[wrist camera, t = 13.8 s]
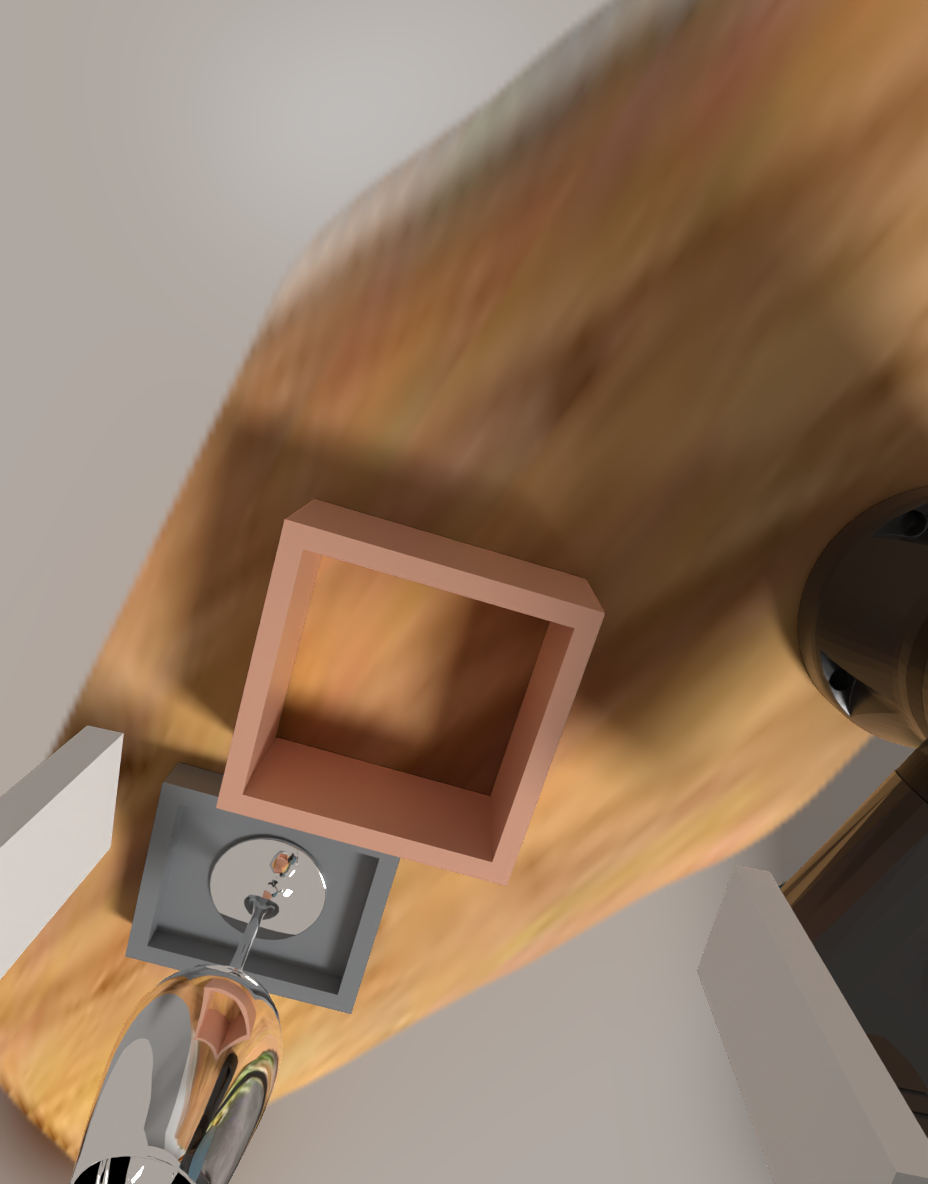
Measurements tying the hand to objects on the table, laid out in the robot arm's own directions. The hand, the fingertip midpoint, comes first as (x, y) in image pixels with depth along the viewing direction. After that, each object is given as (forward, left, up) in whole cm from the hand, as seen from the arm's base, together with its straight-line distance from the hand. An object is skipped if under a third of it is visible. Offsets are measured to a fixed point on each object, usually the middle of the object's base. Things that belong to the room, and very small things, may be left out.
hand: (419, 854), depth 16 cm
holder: (+1, +7, -30) cm, 30 cm away
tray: (+6, +24, -30) cm, 39 cm away
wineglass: (+5, +24, -29) cm, 38 cm away
